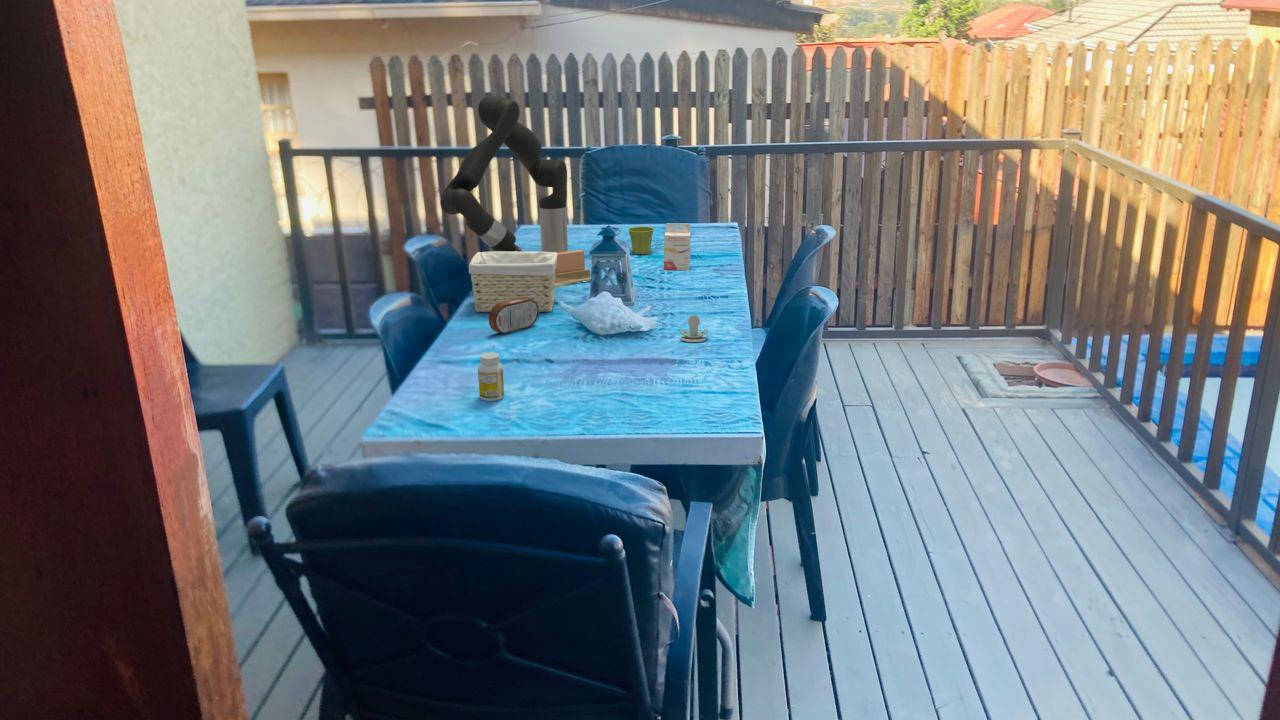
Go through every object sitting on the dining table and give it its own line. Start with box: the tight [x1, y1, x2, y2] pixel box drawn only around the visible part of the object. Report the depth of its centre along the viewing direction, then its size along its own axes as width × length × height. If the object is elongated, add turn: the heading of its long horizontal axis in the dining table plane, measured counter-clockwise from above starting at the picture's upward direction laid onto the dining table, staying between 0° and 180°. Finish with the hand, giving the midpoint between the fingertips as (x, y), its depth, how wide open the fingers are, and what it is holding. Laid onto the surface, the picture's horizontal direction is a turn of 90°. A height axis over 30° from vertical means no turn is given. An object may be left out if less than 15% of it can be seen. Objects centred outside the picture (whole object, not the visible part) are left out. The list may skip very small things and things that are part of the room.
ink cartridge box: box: [663, 222, 692, 271], centre depth 315 cm, size 9×5×15 cm, turn 84°
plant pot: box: [627, 226, 655, 256], centre depth 338 cm, size 9×9×9 cm
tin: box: [488, 297, 540, 335], centre depth 254 cm, size 15×3×8 cm, turn 134°
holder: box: [554, 268, 591, 288], centre depth 303 cm, size 12×18×3 cm, turn 119°
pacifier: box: [678, 314, 709, 343], centre depth 245 cm, size 7×6×6 cm
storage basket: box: [468, 250, 557, 313], centre depth 274 cm, size 24×16×15 cm
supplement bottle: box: [477, 352, 505, 402], centre depth 208 cm, size 5×5×10 cm
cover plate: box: [555, 249, 586, 274], centre depth 303 cm, size 2×14×9 cm, turn 119°
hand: (536, 270), depth 299 cm, fingers closed
